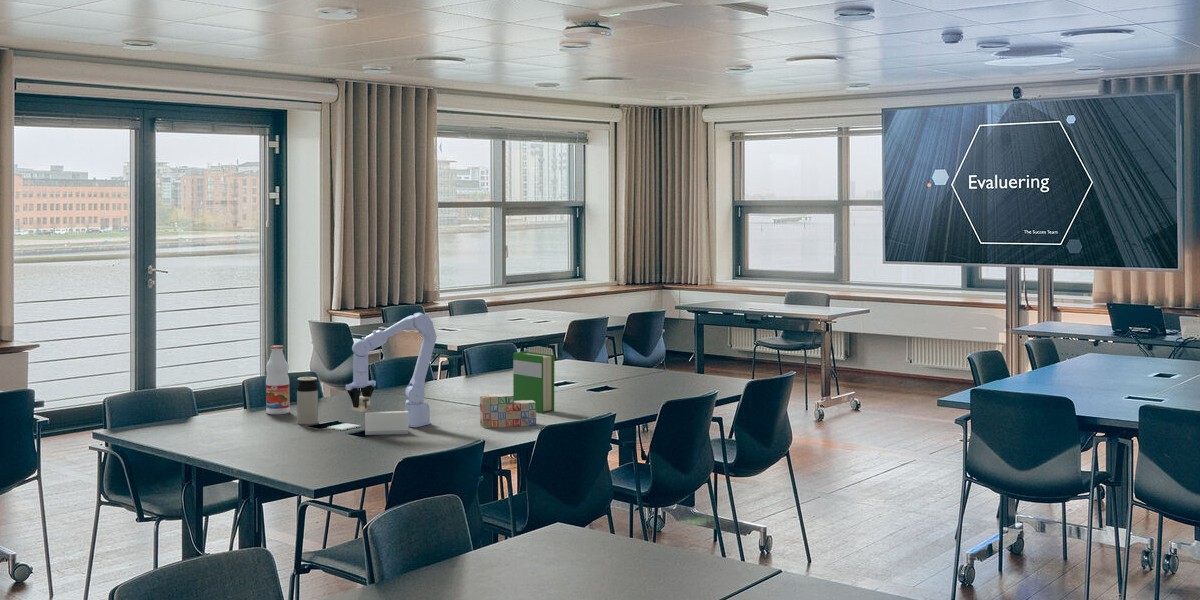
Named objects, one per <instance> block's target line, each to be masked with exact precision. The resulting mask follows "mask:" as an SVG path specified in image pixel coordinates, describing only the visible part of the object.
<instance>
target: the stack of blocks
mask: <svg viewBox="0 0 1200 600" xmlns="http://www.w3.org/2000/svg"><path fill="white" fill-rule="evenodd" d="M479 401H480V402H479V416H480V419H479V422H480V423H479V425H480V427H481V428H483V429H486V428H487V429H488V428H505V427H507V428H508V427H526V426H527V427H528V426H537V413H536V402H535V401H533V400H526V401H525V400H522V401H514V396H513V394H511V393H496V394H495V393H493V394H480V395H479Z"/></svg>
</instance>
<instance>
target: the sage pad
mask: <svg viewBox="0 0 1200 600" xmlns="http://www.w3.org/2000/svg"><path fill="white" fill-rule="evenodd" d="M356 427H357V428H361V427H362V426H361V424H355V423H348V422H344V423H340V424H335V425H331V426H330V425H329V426H327V427H326V429H328V430H333V429H335V431H340V430H341V432H342V431H346V430H347V429H348V430H352V429H356Z"/></svg>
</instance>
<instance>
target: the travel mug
mask: <svg viewBox="0 0 1200 600" xmlns="http://www.w3.org/2000/svg"><path fill="white" fill-rule="evenodd" d="M317 380H318V378H317V377H315V376H300V377H298V378H297V381H298V384H297V386H296V404H297V405H296V406H297V407H296V408H297V414H296V415H297V417H296V419H297V424H299V425H301V426H309V425H316V424H318V423H319V386H318V384H317Z"/></svg>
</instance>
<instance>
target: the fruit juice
mask: <svg viewBox="0 0 1200 600" xmlns="http://www.w3.org/2000/svg"><path fill="white" fill-rule="evenodd" d="M270 350H271V352H270V356H269V359H268V361H267V362H266V365H265V370H266V378H265V401H266V402H265V403H266V404H265V407H266V408H265V409H266V410H265V411H266V414H268V415H284V414H289V413H290V409H291V408H290V407H291V406H290V405H291V404H290V403H291V401H290V397H291V396H290V395H291V394H290V376H289V374H288V372H289V367H290V366H289V363H288V362H287V360H286V357H285V354H284V352H283V350H284V345H277V344H275V345H271V346H270Z"/></svg>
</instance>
